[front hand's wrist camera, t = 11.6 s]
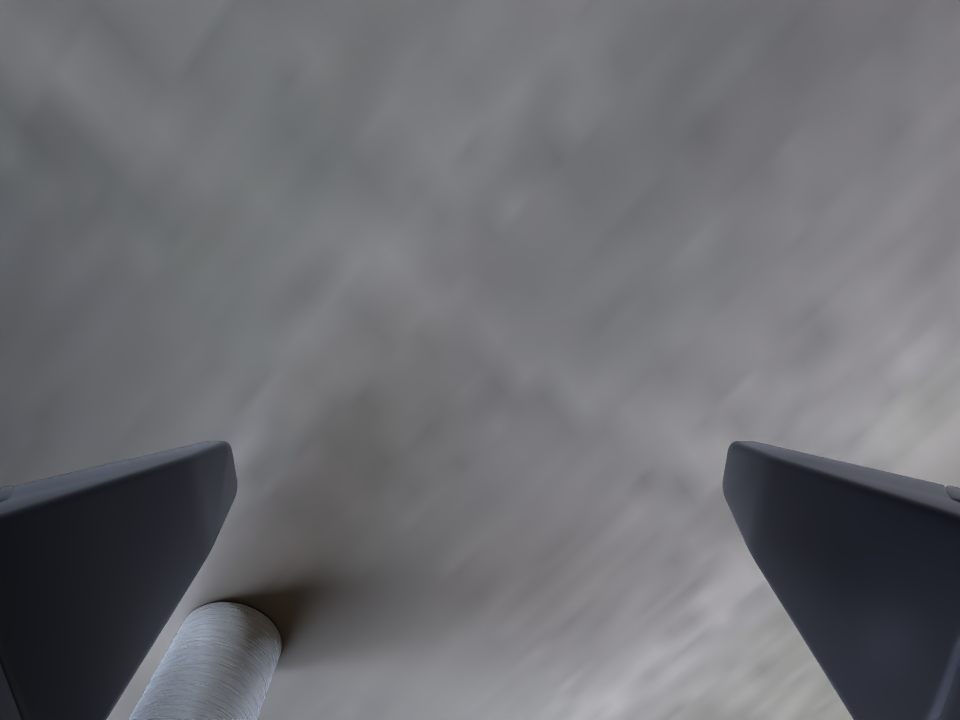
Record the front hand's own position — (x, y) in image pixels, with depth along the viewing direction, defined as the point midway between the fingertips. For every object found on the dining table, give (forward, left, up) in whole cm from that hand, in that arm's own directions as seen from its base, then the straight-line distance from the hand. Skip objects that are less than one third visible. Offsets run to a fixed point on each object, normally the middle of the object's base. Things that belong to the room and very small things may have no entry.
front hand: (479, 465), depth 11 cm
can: (-6, -13, -7) cm, 16 cm away
